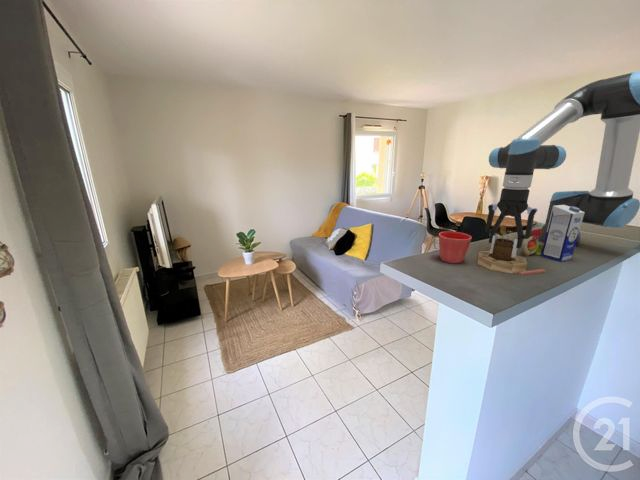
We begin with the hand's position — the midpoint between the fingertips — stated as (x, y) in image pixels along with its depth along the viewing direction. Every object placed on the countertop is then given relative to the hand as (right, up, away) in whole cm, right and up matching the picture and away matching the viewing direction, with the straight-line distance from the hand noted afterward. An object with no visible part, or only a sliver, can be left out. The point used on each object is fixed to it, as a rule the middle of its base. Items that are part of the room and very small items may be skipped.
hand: (502, 254), depth 94 cm
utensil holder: (0, -2, +1) cm, 2 cm away
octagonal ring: (0, -4, +1) cm, 4 cm away
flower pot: (-15, -3, +7) cm, 16 cm away
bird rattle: (+19, -1, +11) cm, 22 cm away
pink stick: (+6, -6, -6) cm, 10 cm away
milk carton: (+26, -2, +8) cm, 27 cm away
